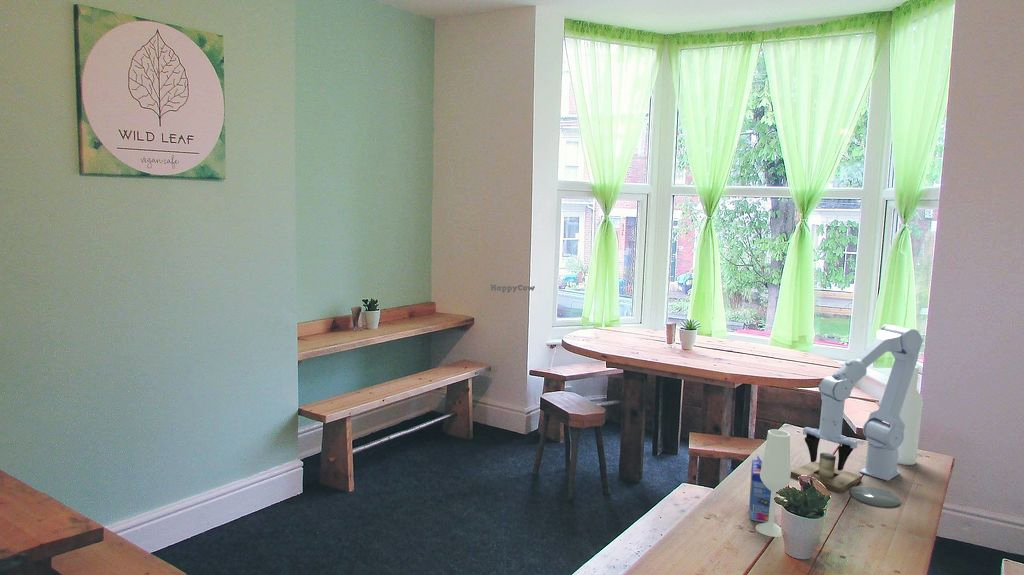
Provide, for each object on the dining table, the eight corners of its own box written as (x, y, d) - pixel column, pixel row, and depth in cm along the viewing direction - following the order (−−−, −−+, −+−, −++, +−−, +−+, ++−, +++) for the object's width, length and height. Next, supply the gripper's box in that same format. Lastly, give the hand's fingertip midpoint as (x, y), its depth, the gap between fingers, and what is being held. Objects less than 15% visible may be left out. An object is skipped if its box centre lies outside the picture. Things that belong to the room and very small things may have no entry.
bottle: (886, 461, 209) (897, 367, 206) (886, 453, 216) (897, 362, 213) (916, 467, 206) (927, 371, 202) (915, 459, 212) (926, 366, 209)
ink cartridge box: (747, 503, 175) (752, 450, 173) (770, 507, 173) (775, 453, 172) (748, 520, 166) (752, 463, 164) (772, 524, 164) (777, 467, 162)
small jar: (821, 474, 197) (823, 451, 196) (835, 479, 194) (838, 455, 193) (815, 478, 194) (817, 454, 193) (829, 482, 191) (832, 459, 190)
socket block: (812, 465, 204) (813, 460, 203) (861, 480, 193) (861, 475, 193) (790, 476, 194) (790, 471, 194) (839, 493, 184) (840, 487, 184)
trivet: (860, 484, 191) (860, 482, 190) (906, 499, 182) (907, 497, 182) (842, 495, 183) (842, 493, 183) (889, 511, 174) (889, 509, 174)
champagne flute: (783, 525, 164) (791, 429, 161) (787, 538, 157) (796, 439, 154) (753, 521, 165) (761, 426, 162) (757, 534, 159) (765, 435, 156)
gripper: (799, 415, 194) (795, 460, 196) (851, 428, 184) (846, 476, 185) (811, 411, 199) (806, 455, 201) (862, 424, 188) (857, 471, 190)
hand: (826, 465), depth 193 cm, fingers open, 7 cm apart
